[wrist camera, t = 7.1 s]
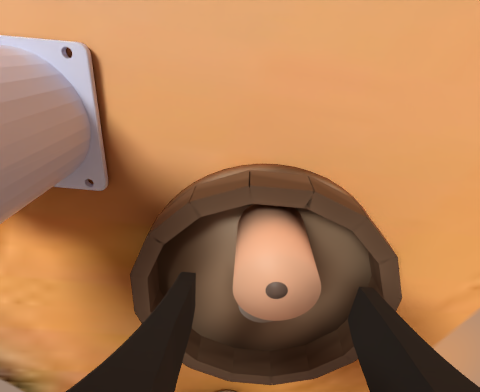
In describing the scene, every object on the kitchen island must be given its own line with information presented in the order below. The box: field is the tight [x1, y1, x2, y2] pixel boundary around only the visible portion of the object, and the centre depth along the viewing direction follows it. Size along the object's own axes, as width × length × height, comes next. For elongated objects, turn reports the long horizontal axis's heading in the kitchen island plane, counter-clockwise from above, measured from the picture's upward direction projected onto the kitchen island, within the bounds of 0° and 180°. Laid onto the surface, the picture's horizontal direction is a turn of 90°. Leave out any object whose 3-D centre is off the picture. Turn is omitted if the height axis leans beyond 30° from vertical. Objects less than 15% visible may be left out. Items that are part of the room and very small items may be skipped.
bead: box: [233, 204, 321, 321], centre depth 16 cm, size 4×4×5 cm
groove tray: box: [130, 164, 402, 385], centre depth 19 cm, size 16×16×3 cm
